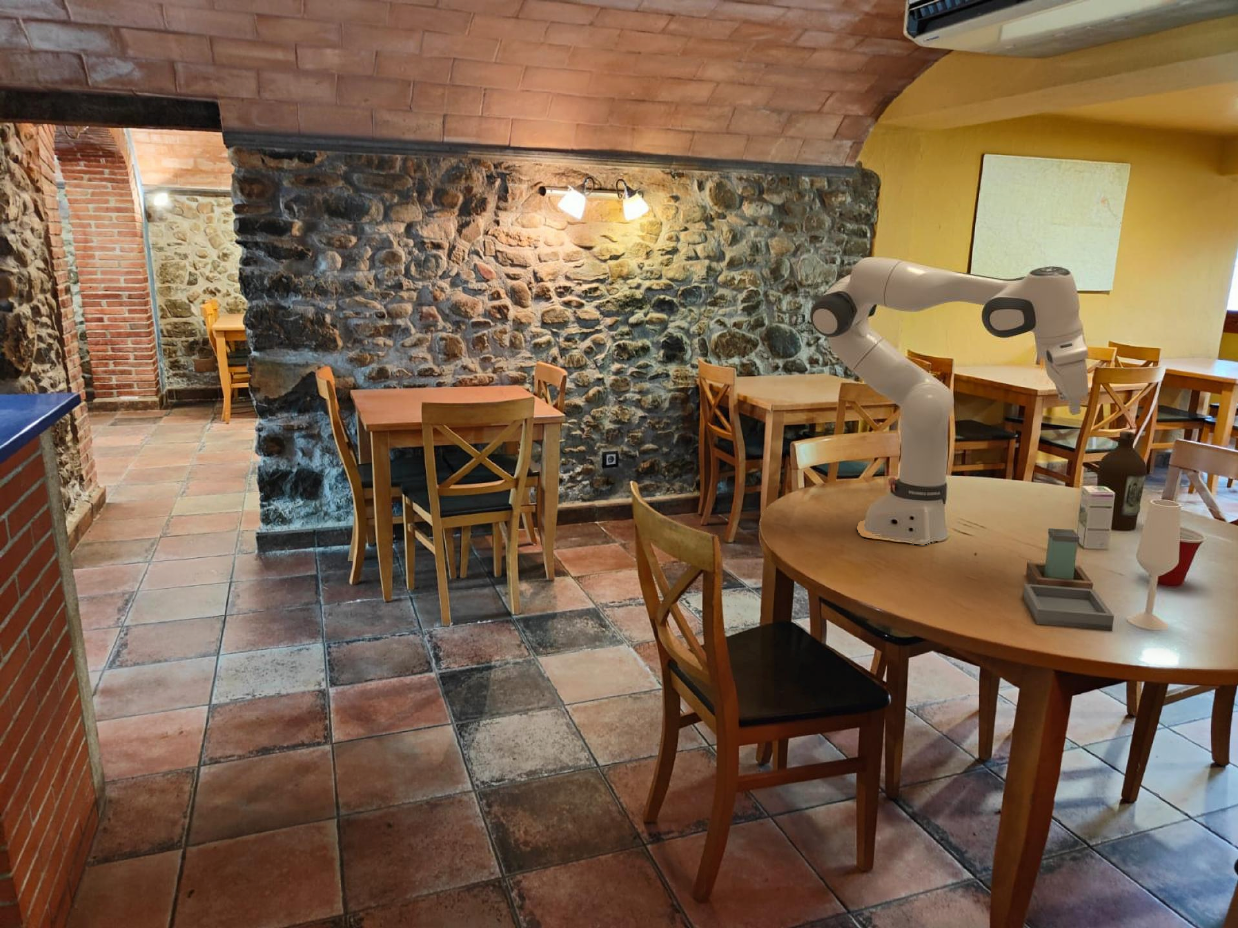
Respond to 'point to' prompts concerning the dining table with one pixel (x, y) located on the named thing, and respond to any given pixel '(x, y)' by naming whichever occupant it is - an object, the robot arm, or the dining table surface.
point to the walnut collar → (1037, 578)
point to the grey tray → (1067, 607)
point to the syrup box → (1095, 517)
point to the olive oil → (1123, 481)
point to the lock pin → (1061, 554)
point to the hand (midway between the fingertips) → (1069, 406)
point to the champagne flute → (1158, 554)
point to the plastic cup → (1183, 557)
